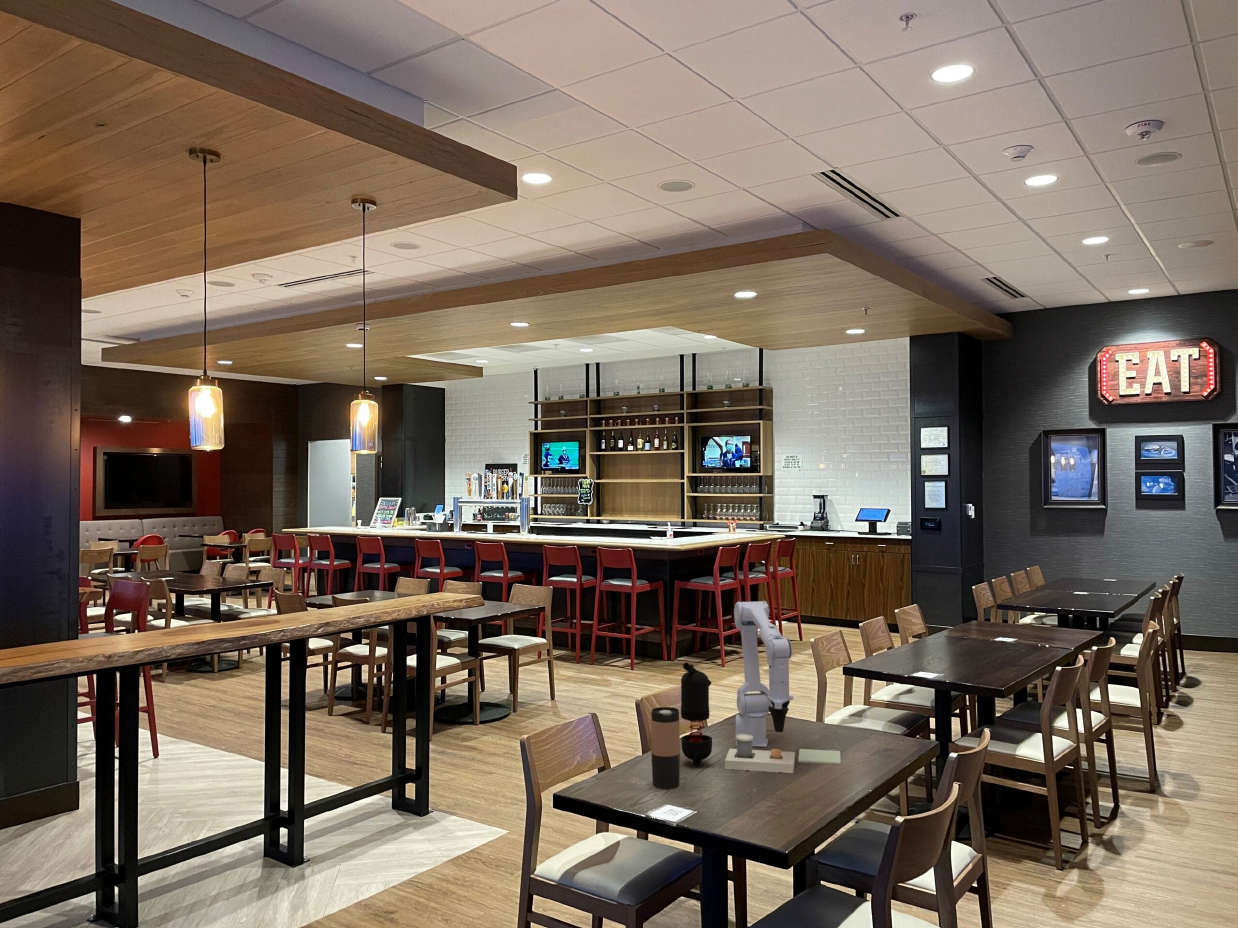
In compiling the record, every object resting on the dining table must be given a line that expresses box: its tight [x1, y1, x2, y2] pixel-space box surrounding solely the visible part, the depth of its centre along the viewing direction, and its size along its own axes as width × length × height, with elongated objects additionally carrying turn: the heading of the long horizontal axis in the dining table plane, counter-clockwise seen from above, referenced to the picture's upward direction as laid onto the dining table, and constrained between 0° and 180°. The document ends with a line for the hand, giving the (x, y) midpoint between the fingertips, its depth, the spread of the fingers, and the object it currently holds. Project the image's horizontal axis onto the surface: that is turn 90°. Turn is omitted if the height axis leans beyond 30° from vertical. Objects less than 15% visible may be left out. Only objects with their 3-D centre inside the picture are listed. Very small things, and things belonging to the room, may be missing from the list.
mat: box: [797, 748, 842, 766], centre depth 267 cm, size 12×12×1 cm
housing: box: [724, 748, 796, 774], centre depth 260 cm, size 19×12×2 cm, turn 77°
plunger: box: [770, 748, 782, 759], centre depth 259 cm, size 3×3×2 cm
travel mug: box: [650, 706, 681, 790], centre depth 244 cm, size 8×8×20 cm
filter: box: [680, 662, 713, 766], centre depth 263 cm, size 14×9×30 cm
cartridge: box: [735, 734, 753, 759], centre depth 261 cm, size 5×5×8 cm
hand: (779, 728), depth 260 cm, fingers open, 7 cm apart
